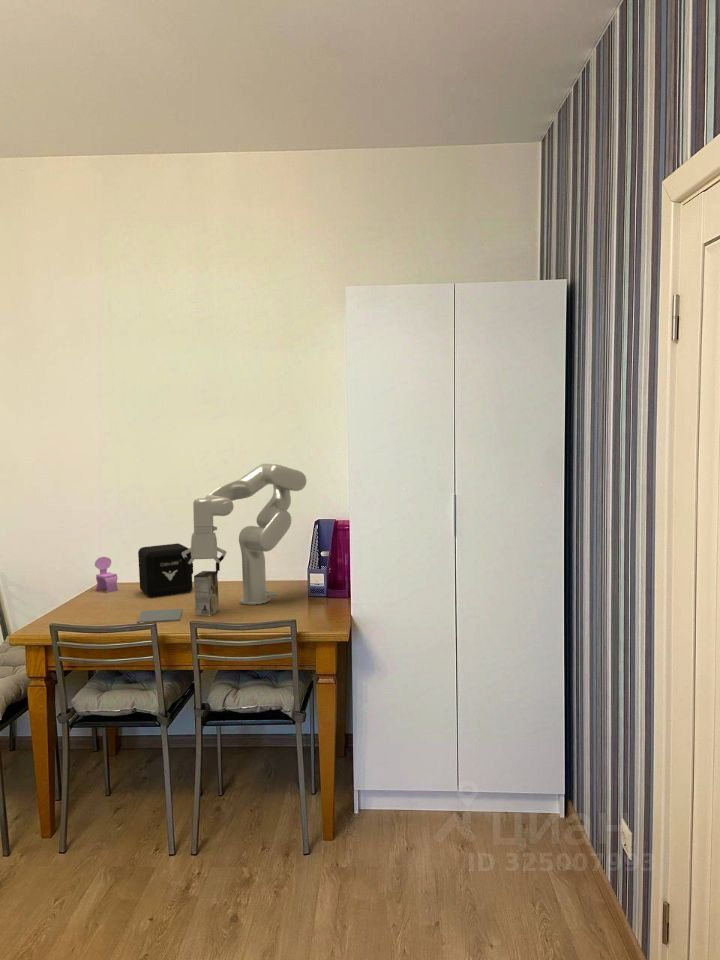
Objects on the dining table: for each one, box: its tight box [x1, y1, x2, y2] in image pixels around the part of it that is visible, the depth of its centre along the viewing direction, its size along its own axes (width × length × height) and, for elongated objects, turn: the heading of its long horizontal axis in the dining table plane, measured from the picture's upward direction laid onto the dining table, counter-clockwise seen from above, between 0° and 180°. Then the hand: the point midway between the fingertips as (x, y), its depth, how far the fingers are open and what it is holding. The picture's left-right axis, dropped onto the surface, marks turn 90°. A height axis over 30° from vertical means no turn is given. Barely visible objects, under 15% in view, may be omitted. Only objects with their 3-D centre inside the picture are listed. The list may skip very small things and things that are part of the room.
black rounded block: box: [137, 542, 193, 598], centre depth 348 cm, size 20×15×20 cm
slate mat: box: [136, 608, 184, 624], centre depth 310 cm, size 16×16×1 cm
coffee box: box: [193, 570, 220, 616], centre depth 313 cm, size 9×6×16 cm
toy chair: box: [94, 556, 119, 594], centre depth 354 cm, size 8×9×15 cm
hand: (204, 573), depth 312 cm, fingers open, 9 cm apart
